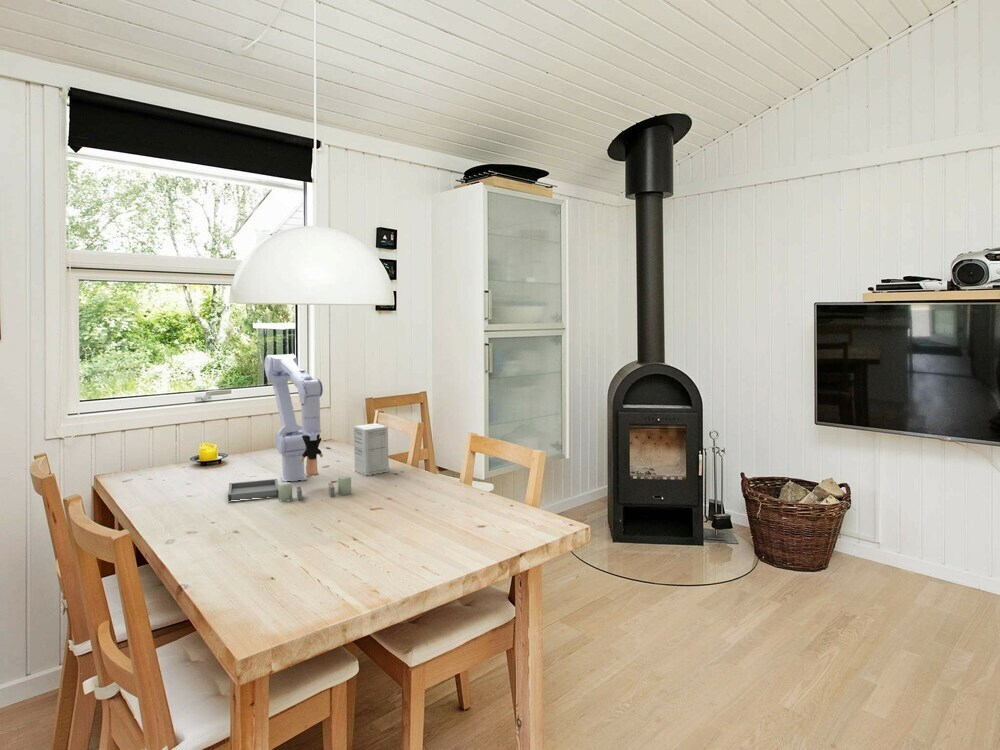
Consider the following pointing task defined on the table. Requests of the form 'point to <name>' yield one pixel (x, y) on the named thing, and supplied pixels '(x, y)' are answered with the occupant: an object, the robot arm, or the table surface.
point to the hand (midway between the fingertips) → (312, 457)
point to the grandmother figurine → (311, 464)
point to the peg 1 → (344, 485)
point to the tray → (253, 489)
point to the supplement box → (371, 449)
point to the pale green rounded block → (285, 491)
